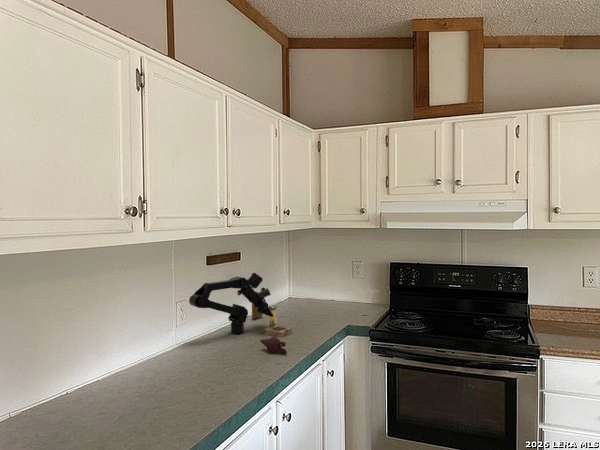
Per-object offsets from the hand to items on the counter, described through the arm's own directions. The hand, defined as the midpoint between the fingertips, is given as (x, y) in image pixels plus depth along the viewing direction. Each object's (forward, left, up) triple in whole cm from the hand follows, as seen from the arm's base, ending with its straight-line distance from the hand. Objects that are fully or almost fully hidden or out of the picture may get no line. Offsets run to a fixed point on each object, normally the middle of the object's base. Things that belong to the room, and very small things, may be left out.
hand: (271, 314), depth 228 cm
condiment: (+15, +21, -9) cm, 27 cm away
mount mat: (0, -1, -8) cm, 8 cm away
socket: (-6, -9, -8) cm, 13 cm away
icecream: (-30, -22, -8) cm, 38 cm away
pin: (0, -1, -8) cm, 8 cm away
